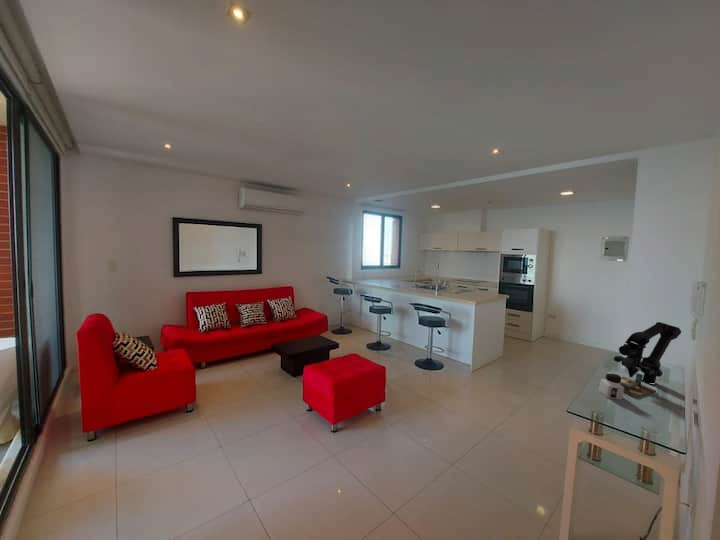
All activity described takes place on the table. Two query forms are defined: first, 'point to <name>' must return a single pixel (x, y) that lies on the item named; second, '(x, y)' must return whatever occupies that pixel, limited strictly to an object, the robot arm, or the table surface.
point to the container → (612, 386)
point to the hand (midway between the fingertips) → (630, 377)
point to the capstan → (633, 382)
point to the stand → (637, 393)
